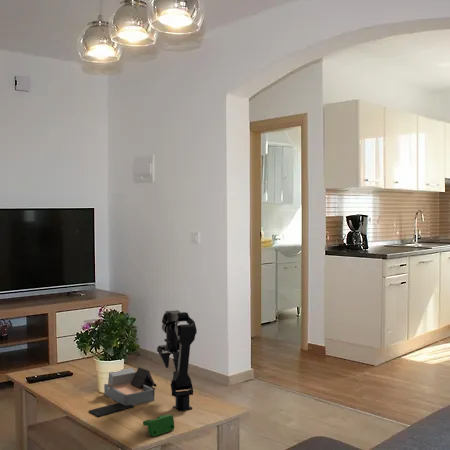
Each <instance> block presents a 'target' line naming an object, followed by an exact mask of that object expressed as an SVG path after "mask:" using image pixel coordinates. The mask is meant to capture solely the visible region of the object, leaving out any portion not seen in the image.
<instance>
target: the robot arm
mask: <svg viewBox="0 0 450 450" xmlns="http://www.w3.org/2000/svg"><path fill="white" fill-rule="evenodd" d="M189 315H190V314H189V313H188V312H187V311H186V312H185V311H180V310H166V311H165V312H164V313H163V316H162V318H161V323H162V325H161V330H162V331H163V333H165V339H163V340H164V342H166V343H165V344H162V345H158V346H157V348H156V352H157V353H158V355H159V356H160V358H161V360H162V362H163V364H164V367H165V368H166V369H167V368H169V366H170V356H171V355H172V357H173V358H172V361H173V365H174V369H175V371H173V373H172V380H171V381H170V389H171V391H170V392H171V397H174V398H175V405H173V406H172V409H175V410H176V411H178V412H185V411H189V410H193V407H192V406H191V405H190V396H193V395H194V387H193V384H192V378H191V376H190V375H189V362H190V354H191V353H190V352H191V351H190V350H191V345H192V344H193V342H194V341H195V338H196V335H197V325H196V322H195V320H194V319H193V318H191V316H189ZM180 322H181V323H182V322H186V323H187V324H180Z"/></svg>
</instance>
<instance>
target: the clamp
mask: <svg viewBox="0 0 450 450" xmlns="http://www.w3.org/2000/svg"><path fill="white" fill-rule="evenodd" d="M142 424H143V425H142V426H144V427H146V426H147V431H148V435H149V436H150V437H156V436H160V435H162V434H163V435H164V434H166V433H169V432H171V431H174V429H175V421H174V414H163V415H160V416H157V418H155V419H146V420H144V421H142Z"/></svg>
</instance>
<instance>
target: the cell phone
mask: <svg viewBox="0 0 450 450" xmlns="http://www.w3.org/2000/svg"><path fill="white" fill-rule="evenodd" d="M133 408H135V405H128V406H124V405H123V404H121V403H118V402H116V403H112V404H109V405H105V406H101V407H97V408H93V409H89V410H88V413H89V414H91V415H93V416H95V417H97V418H102V417H104V416H108V415H113V414H116V413H121V412H123V411H126V410H131V409H133Z"/></svg>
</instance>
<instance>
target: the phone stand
mask: <svg viewBox="0 0 450 450" xmlns="http://www.w3.org/2000/svg"><path fill="white" fill-rule="evenodd" d="M142 384H144V385H146V386H148V387H150V388H152V389H154V391H156V387H157V384H156V383H155V382H154V379H153V377H152V374H151V373H150V370H148V369H146V368H142V367H140V366H139V367H138V368H137V369H136V374H135V376H134V378H133V380H132V382H131V384H130V385H133V386H135V387H138V388H143V385H142Z"/></svg>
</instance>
